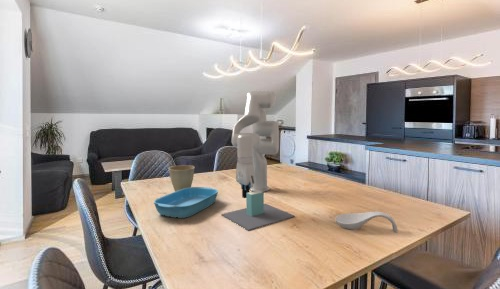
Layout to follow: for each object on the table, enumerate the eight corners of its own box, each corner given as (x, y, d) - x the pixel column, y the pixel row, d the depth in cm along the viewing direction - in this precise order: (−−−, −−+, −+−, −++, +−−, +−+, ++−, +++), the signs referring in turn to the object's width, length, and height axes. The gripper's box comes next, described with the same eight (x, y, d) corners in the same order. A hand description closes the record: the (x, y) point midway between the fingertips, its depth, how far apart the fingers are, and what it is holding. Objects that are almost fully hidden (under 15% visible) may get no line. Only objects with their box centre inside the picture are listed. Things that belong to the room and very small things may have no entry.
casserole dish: (190, 196, 166) (190, 184, 166) (224, 200, 158) (224, 187, 157) (144, 218, 133) (144, 203, 132) (185, 225, 124) (184, 209, 123)
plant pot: (164, 196, 165) (163, 169, 163) (177, 189, 179) (176, 164, 178) (188, 198, 162) (187, 170, 160) (199, 191, 176) (198, 165, 174)
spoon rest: (335, 231, 116) (335, 214, 115) (334, 220, 127) (335, 204, 126) (399, 237, 109) (400, 219, 109) (393, 225, 121) (394, 209, 120)
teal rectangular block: (246, 213, 134) (246, 192, 133) (258, 210, 138) (258, 190, 137) (251, 216, 131) (251, 194, 130) (263, 213, 135) (263, 192, 134)
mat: (221, 215, 134) (221, 214, 134) (265, 204, 149) (265, 203, 149) (248, 231, 116) (248, 229, 116) (294, 217, 131) (294, 215, 131)
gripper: (230, 159, 142) (231, 195, 144) (247, 163, 130) (248, 202, 132) (243, 157, 146) (243, 192, 148) (261, 161, 134) (261, 199, 136)
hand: (245, 197), depth 140 cm, fingers closed
